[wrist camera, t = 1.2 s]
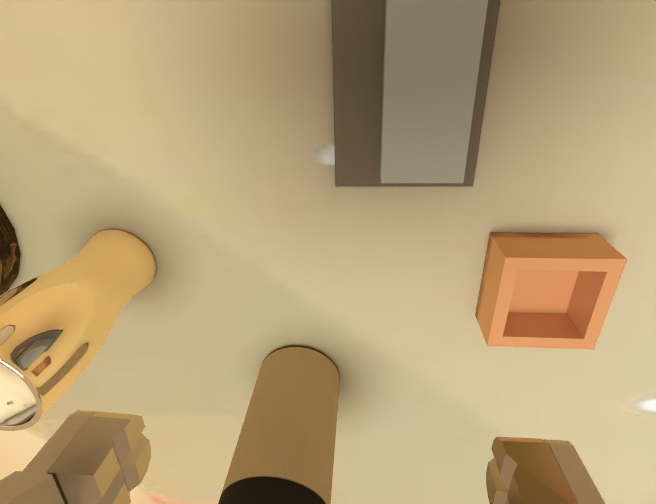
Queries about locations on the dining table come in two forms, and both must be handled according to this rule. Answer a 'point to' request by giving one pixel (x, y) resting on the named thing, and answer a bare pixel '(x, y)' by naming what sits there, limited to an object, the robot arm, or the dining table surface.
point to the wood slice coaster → (8, 253)
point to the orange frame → (547, 289)
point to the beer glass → (64, 322)
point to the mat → (366, 92)
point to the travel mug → (287, 433)
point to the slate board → (429, 88)
